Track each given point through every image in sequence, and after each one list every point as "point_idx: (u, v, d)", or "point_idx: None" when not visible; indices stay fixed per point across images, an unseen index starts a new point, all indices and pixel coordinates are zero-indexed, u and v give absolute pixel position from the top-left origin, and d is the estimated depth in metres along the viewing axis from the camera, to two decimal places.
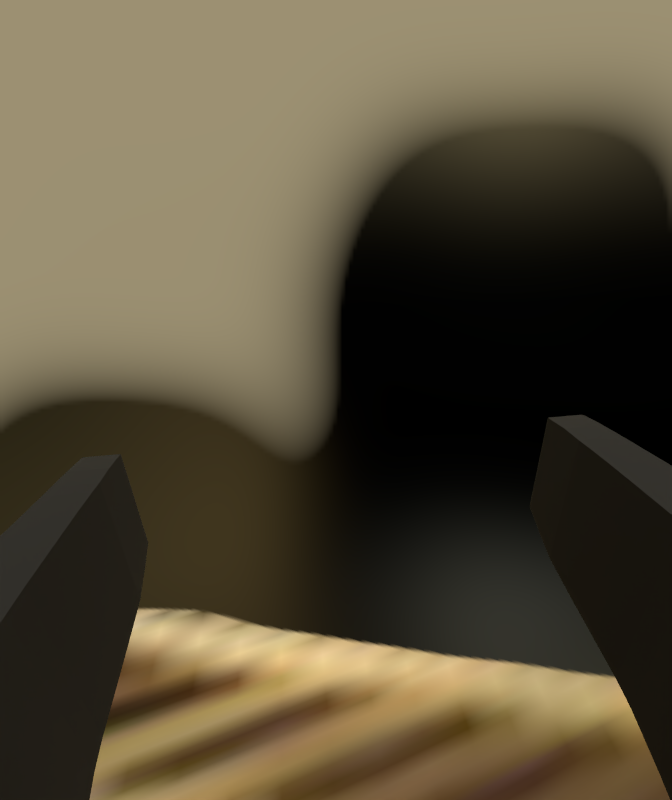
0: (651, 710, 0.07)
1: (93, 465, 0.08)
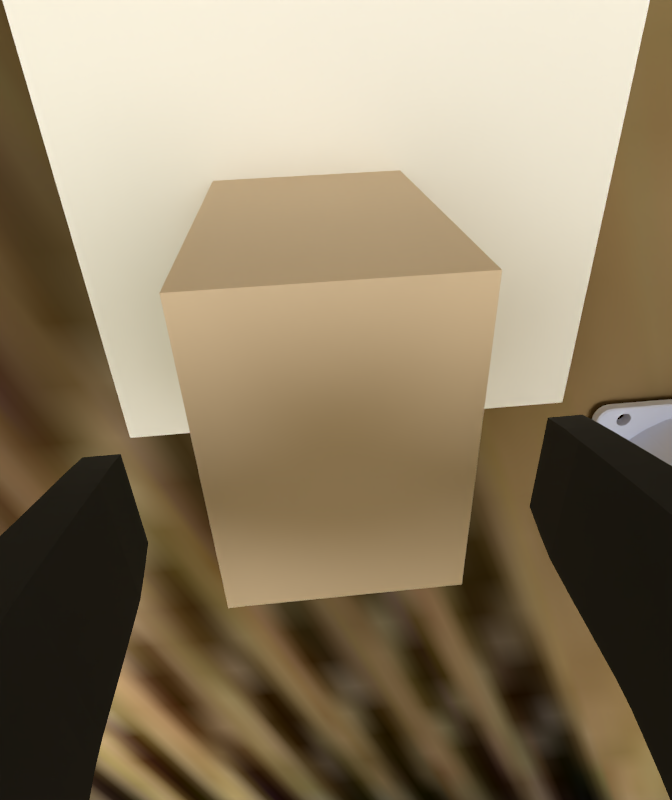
0: (651, 710, 0.07)
1: (93, 465, 0.08)
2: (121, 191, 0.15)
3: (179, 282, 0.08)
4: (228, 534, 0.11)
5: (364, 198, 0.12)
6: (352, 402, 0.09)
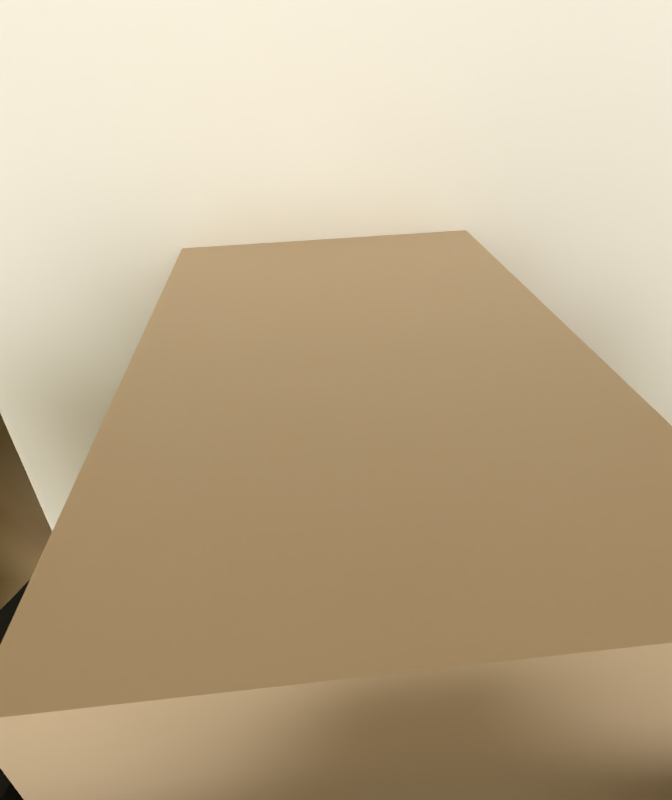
0: None
1: None
2: (34, 264, 0.09)
3: (37, 648, 0.03)
4: None
5: (429, 300, 0.07)
6: None
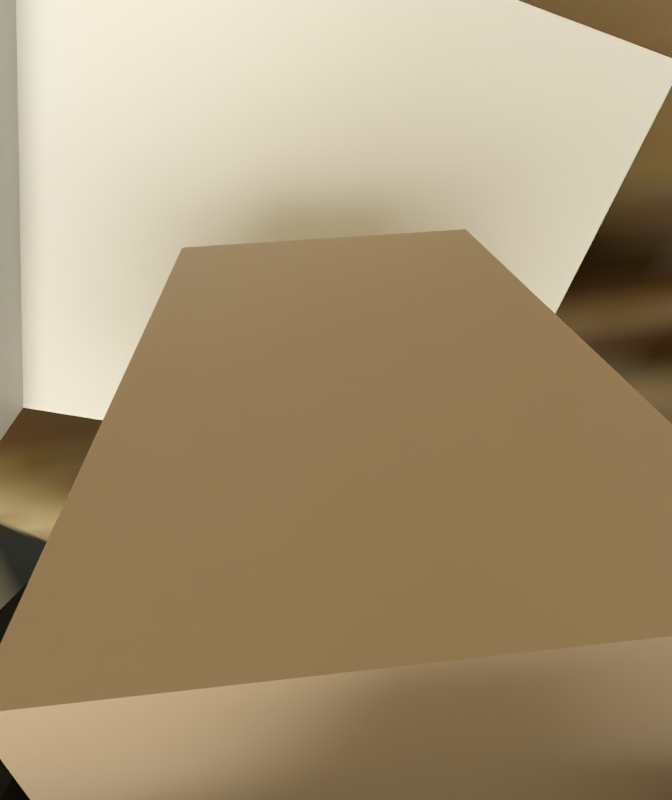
0: None
1: None
2: None
3: (39, 643, 0.03)
4: None
5: (429, 298, 0.07)
6: None
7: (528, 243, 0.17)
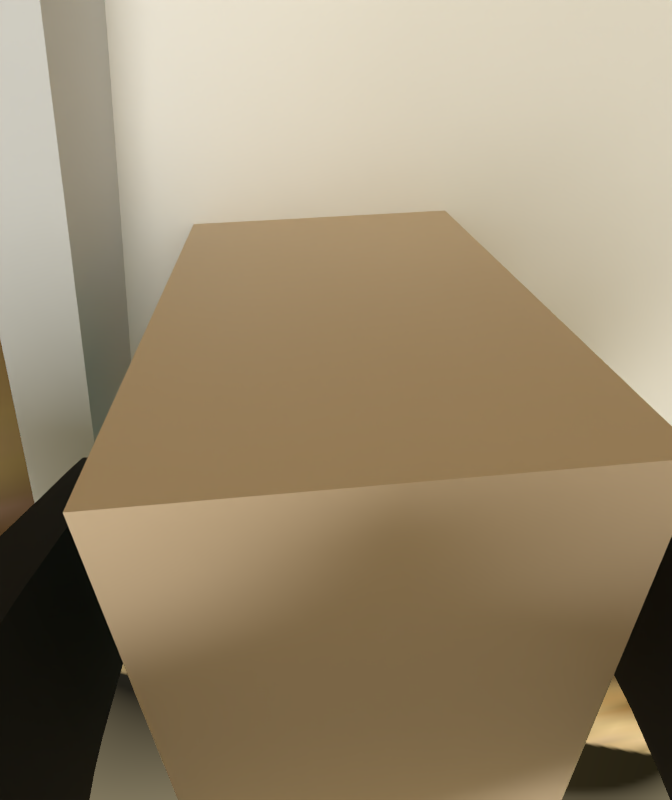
0: (651, 710, 0.07)
1: None
2: None
3: (106, 476, 0.04)
4: None
5: (407, 263, 0.09)
6: (412, 646, 0.05)
7: None
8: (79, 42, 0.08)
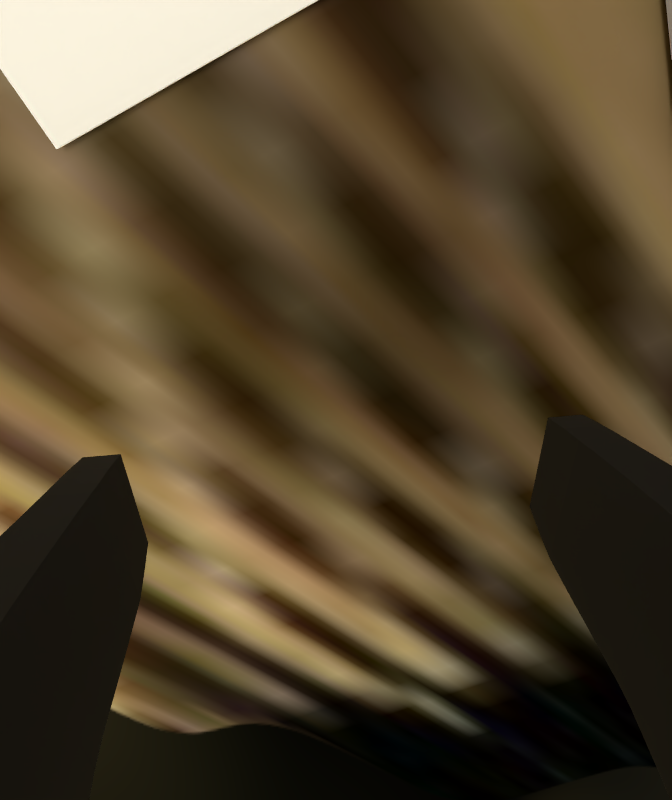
0: (651, 710, 0.07)
1: (93, 465, 0.08)
2: None
3: None
4: None
5: None
6: None
7: None
8: None
